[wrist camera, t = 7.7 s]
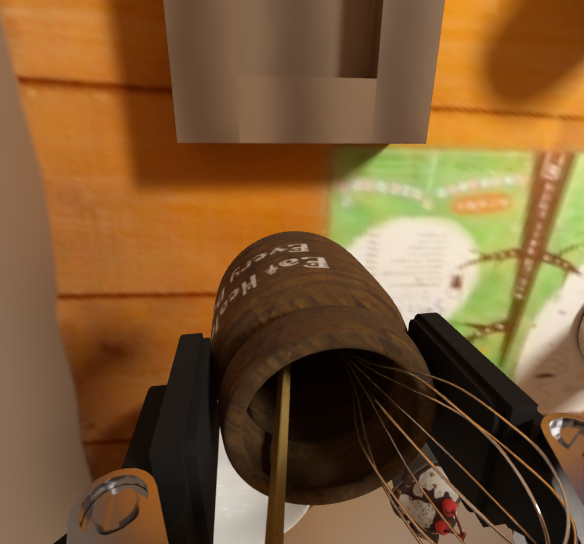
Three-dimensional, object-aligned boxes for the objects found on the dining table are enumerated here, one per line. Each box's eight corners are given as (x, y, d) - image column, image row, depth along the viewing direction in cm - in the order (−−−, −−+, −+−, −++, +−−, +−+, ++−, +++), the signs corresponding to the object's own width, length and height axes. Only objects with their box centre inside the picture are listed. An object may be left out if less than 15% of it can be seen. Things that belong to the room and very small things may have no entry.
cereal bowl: (111, 385, 34) (81, 446, 27) (286, 342, 35) (298, 391, 28) (169, 507, 40) (156, 580, 34) (316, 467, 41) (331, 531, 35)
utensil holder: (391, 286, 15) (805, 703, 4) (289, 388, 16) (405, 929, 5) (286, 191, 13) (552, 510, 2) (178, 314, 14) (-10, 942, 3)
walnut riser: (419, -123, 24) (469, -191, 19) (393, 140, 30) (426, 143, 24) (162, -150, 22) (139, -236, 17) (187, 140, 27) (177, 142, 22)
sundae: (389, 371, 38) (478, 510, 24) (424, 405, 40) (524, 549, 26) (341, 410, 39) (400, 566, 25) (378, 441, 41) (451, 599, 27)
